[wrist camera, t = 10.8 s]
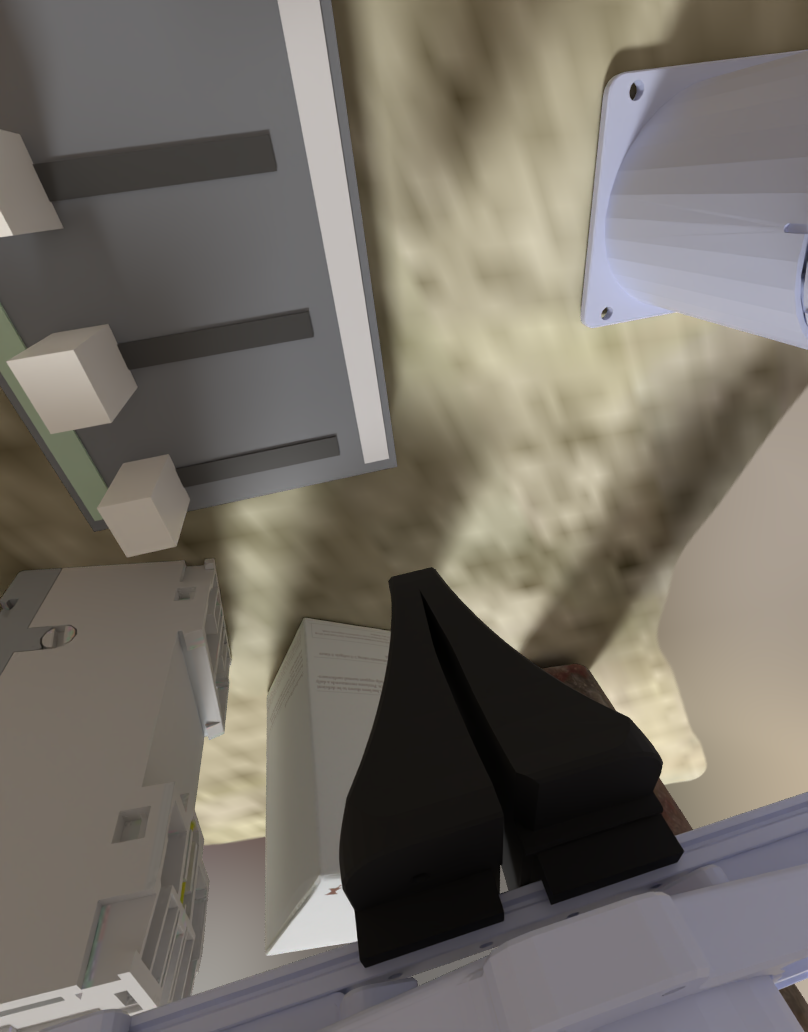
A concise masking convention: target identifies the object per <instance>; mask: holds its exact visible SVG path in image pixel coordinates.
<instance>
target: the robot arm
mask: <svg viewBox="0 0 808 1032" xmlns="http://www.w3.org/2000/svg"><path fill="white" fill-rule="evenodd" d="M633 83H635V85H636V88H637V92H636V95H635V98H634V99H633V100H631V98H630V94H629V91H630V88H631V85H632V84H633ZM606 307H607V313H606V315H605V316H604V317H603V318H601V313H602V311H603V310H604V309H605V308H606ZM675 312H678V313H681V314H685V315H688V316H692V317H695V318H699V319H702V320H706V321H709V322H712V323H716V324H719V325H723V326H726V327H730V328H733V329H737V330H740V331H744V332H747V333H751V334H754V335H758V336H761V337H765V338H768V339H772V340H775V341H779V342H782V343H786V344H789V345H793V346H796V347H800V348H803V349H807V350H808V50H800V51H791V52H783V53H775V54H767V55H759V56H750V57H742V58H734V59H726V60H718V61H710V62H701V63H693V64H685V65H677V66H669V67H660V68H652V69H644V70H636V71H628V72H623V73H620V74H618V75H615V76H613V77H612V78H611V79H610V80H609V81H608V83H607V85H606V87H605V90H604V94H603V102H602V112H601V121H600V131H599V141H598V151H597V161H596V170H595V180H594V190H593V200H592V209H591V219H590V229H589V239H588V248H587V258H586V268H585V278H584V288H583V297H582V307H581V322H582V323H583V324H584V325H585V326H587V327H590V328H595V327H601V326H606V325H611V324H616V323H622V322H627V321H632V320H638V319H643V318H648V317H653V316H659V315H664V314H669V313H675ZM388 582H389V588H390V593H391V601H392V619H391V636H390V645H389V653H388V661H387V667H386V672H385V678H384V683H383V687H382V692H381V696H380V700H379V704H378V708H377V712H376V716H375V719H374V723H373V726H372V729H371V732H370V736H369V739H368V742H367V745H366V748H365V751H364V754H363V757H362V760H361V762H360V765H359V768H358V770H357V773H356V775H355V778H354V780H353V783H352V785H351V788H350V790H349V793H348V795H347V798H346V803H345V809H344V814H343V820H342V826H341V833H340V843H339V865H340V874H341V883H342V889H343V891H344V893H345V895H346V897H347V898H348V900H349V902H350V904H351V905H352V907H353V909H354V912H355V922H356V931H357V940H358V941H356V942H353V943H350V944H347V945H344V946H341V947H338V948H335V949H332V950H328V951H326V952H323V953H319V954H316V955H314V956H310V957H307V958H305V959H302V960H298V961H295V962H292V963H289V964H287V965H283V966H280V967H278V968H274V969H272V970H268V971H265V972H262V973H259V974H256V975H253V976H250V977H247V978H244V979H241V980H238V981H235V982H232V983H229V984H226V985H223V986H220V987H217V988H214V989H211V990H208V991H205V992H202V993H199V994H196V995H193V996H190V997H187V998H184V999H181V1000H178V1001H174V1002H171V1003H168V1004H165V1005H162V1006H159V1007H156V1008H153V1009H150V1010H147V1011H144V1012H141V1013H138V1014H135V1015H132V1016H130V1015H129V1014H128V1013H127V1012H125V1011H123V1010H121V1009H105V1010H101V1011H97V1012H93V1013H90V1014H87V1015H84V1016H81V1017H78V1018H75V1019H72V1020H69V1021H65V1022H62V1023H59V1024H56V1025H53V1026H50V1027H47V1028H44V1029H41V1030H40V1031H39V1032H804V1030H803V1028H802V1027H801V1025H800V1024H799V1022H798V1020H797V1019H796V1017H795V1016H794V1014H793V1012H792V1011H791V1009H790V1008H789V1006H788V1005H787V1003H786V1001H785V1000H784V998H783V997H782V995H781V993H780V992H779V990H780V989H782V988H785V987H787V986H790V985H792V984H795V983H797V982H800V981H802V980H804V979H807V978H808V792H806V793H803V794H799V795H796V796H794V797H790V798H788V799H784V800H781V801H778V802H776V803H772V804H769V805H767V806H763V807H760V808H758V809H754V810H751V811H748V812H745V813H742V814H739V815H736V816H733V817H730V818H727V819H724V820H721V821H718V822H715V823H712V824H709V825H706V826H703V827H700V828H697V829H694V830H691V831H688V832H685V833H682V834H679V835H676V836H675V835H674V834H673V832H672V830H671V829H670V827H669V826H668V824H667V822H666V821H665V819H664V818H663V816H662V814H661V813H662V812H663V807H662V805H661V803H660V801H659V800H658V798H657V797H656V795H655V794H654V792H653V790H654V788H655V786H656V783H657V781H658V779H659V777H660V774H661V770H662V765H663V761H662V759H661V757H660V755H659V754H658V752H657V751H656V749H655V748H654V746H653V745H652V744H651V742H650V741H649V740H648V739H647V737H646V736H645V735H644V734H643V733H642V731H641V730H640V729H639V728H638V727H637V726H636V725H635V723H634V722H633V721H632V720H631V719H630V718H629V717H627V716H625V715H623V714H621V713H619V712H617V711H614V710H612V709H610V708H608V707H606V706H604V705H602V704H600V703H599V702H597V701H595V700H593V699H591V698H589V697H587V696H586V695H584V694H582V693H580V692H578V691H577V690H575V689H573V688H571V687H570V686H568V685H567V684H565V683H563V682H562V681H560V680H559V679H557V678H555V677H554V676H552V675H551V674H549V673H548V672H546V671H544V670H543V669H541V668H540V667H538V666H537V665H535V664H534V663H533V662H531V661H530V660H528V659H527V658H526V657H524V656H523V655H522V654H520V653H519V652H518V651H516V650H515V649H514V648H512V647H511V646H510V645H509V644H507V643H506V642H505V641H504V640H503V639H501V638H500V637H499V636H498V635H497V634H496V633H494V632H493V631H492V630H491V629H490V628H489V627H488V626H487V625H485V624H484V623H483V622H482V621H481V620H480V619H479V618H478V617H477V616H476V615H475V614H474V613H473V612H472V611H471V610H470V609H469V608H468V607H467V606H466V605H465V604H464V603H463V602H462V601H461V600H460V599H459V598H458V596H457V595H456V594H455V593H454V592H453V591H452V590H451V589H450V587H449V586H448V585H447V584H446V583H445V581H444V580H443V579H442V578H441V576H440V575H439V574H438V572H437V571H436V569H434V568H432V567H431V568H427V569H423V570H418V571H414V572H410V573H406V574H402V575H398V576H394V577H391V578H390V579H389V581H388ZM500 865H501V866H502V869H503V873H504V876H505V880H506V883H507V887H508V890H509V891H507V892H504V893H501V894H500ZM498 946H499V947H498ZM495 947H497V948H495ZM492 948H495V949H494V950H492V951H491V953H490V954H489V955H487V956H485V957H483V958H480V959H478V960H476V961H474V962H471V963H469V964H467V965H465V966H463V967H460V968H458V969H456V970H453V971H451V972H449V973H446V974H444V975H442V976H440V977H438V978H435V979H433V980H431V981H428V982H426V983H424V984H422V985H419V986H418V984H417V980H415V979H414V978H413V977H411V976H413V975H416V974H419V973H422V972H425V971H428V970H431V969H434V968H437V967H440V966H442V965H445V964H448V963H451V962H454V961H457V960H460V959H463V958H466V957H469V956H471V955H474V954H477V953H480V952H483V951H486V950H489V949H492ZM408 977H411V978H408Z"/></svg>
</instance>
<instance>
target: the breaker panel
mask: <svg viewBox="0 0 808 1032" xmlns="http://www.w3.org/2000/svg"><path fill="white" fill-rule="evenodd" d="M0 387H1V388H2V390H3V391H4V393H5V394H6V396H7V397H8V399H9V401H10V402H11V404H12V405H13V407H14V408H15V410H16V411H17V413H18V414H19V416H20V418H21V419H22V421H23V422H24V424H25V425H26V427H27V428H28V430H29V432H30V433H31V435H32V436H33V438H34V439H35V441H36V442H37V444H38V445H39V447H40V449H41V450H42V452H43V453H44V455H45V456H46V458H47V459H48V461H49V463H50V464H51V466H52V467H53V469H54V470H55V472H56V473H57V475H58V477H59V478H60V480H61V481H62V483H63V484H64V486H65V487H66V489H67V490H68V492H69V494H70V495H71V497H72V498H73V500H74V501H75V503H76V504H77V506H78V508H79V509H80V511H81V512H82V514H83V515H84V517H85V518H86V520H87V521H88V523H89V525H90V526H91V528H92V529H93V531H94V532H95V531H100V530H105V529H110V531H111V532H112V534H113V536H114V537H115V539H116V540H117V542H118V544H119V545H120V547H121V549H122V550H123V552H124V553H125V555H126V557H132V556H136V555H141V554H145V553H150V552H154V551H159V550H163V549H168V548H172V547H177V543H178V540H179V536H180V533H181V530H182V526H183V523H184V519H185V516H186V512H188V511H193V510H198V509H202V508H207V507H212V506H216V505H221V504H226V503H230V502H235V501H240V500H244V499H249V498H254V497H258V496H263V495H268V494H272V493H277V492H282V491H286V490H291V489H295V488H300V487H305V486H309V485H314V484H319V483H323V482H328V481H333V480H337V479H342V478H347V477H351V476H356V475H361V474H365V473H370V472H375V471H379V470H384V469H389V468H393V467H397V461H396V454H395V447H394V440H393V433H392V426H391V419H390V411H389V404H388V397H387V390H386V383H385V376H384V369H383V362H382V355H381V348H380V341H379V334H378V327H377V320H376V313H375V306H374V299H373V292H372V285H371V278H370V271H369V264H368V257H367V250H366V243H365V236H364V229H363V221H362V214H361V207H360V200H359V193H358V186H357V179H356V172H355V165H354V158H353V151H352V144H351V137H350V130H349V123H348V116H347V109H346V102H345V95H344V88H343V81H342V74H341V67H340V60H339V53H338V46H337V39H336V31H335V24H334V17H333V10H332V3H331V0H0Z"/></svg>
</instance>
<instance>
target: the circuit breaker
mask: <svg viewBox="0 0 808 1032" xmlns="http://www.w3.org/2000/svg"><path fill="white" fill-rule="evenodd" d="M0 603H1V605H2V607H3V609H2V610H1V612H0V1032H39V1031H40V1030H41V1029H44V1028H47V1027H50V1026H53V1025H56V1024H59V1023H62V1022H65V1021H69V1020H72V1019H75V1018H78V1017H81V1016H84V1015H87V1014H90V1013H93V1012H97V1011H101V1010H105V1009H121V1010H123V1011H125V1012H127V1013H128V1014H129V1015H130V1016H132V1015H135V1014H138V1013H141V1012H144V1011H147V1010H150V1009H153V1008H156V1007H159V1006H162V1005H165V1004H168V1003H171V1002H174V1001H178V1000H181V999H184V998H187V997H190V996H191V995H192V990H193V985H194V979H195V975H196V974H198V972H199V966H200V962H201V957H202V950H203V941H204V931H205V921H206V911H207V901H208V891H209V878H208V875H207V872H206V870H205V867H204V864H203V861H202V854H203V846H204V838H203V834H202V831H201V828H200V825H199V822H198V819H197V816H196V813H195V802H196V795H197V788H198V780H199V773H200V765H201V758H202V751H203V743H204V737H206V736H208V738H209V740H211V739H213V738H215V737H218V736H220V735H222V734H224V730H225V720H226V710H227V700H228V690H229V678H228V677H229V667H230V665H231V654H230V648H229V642H228V636H227V630H226V625H225V619H224V613H223V607H222V601H221V595H220V589H219V583H218V577H217V571H216V565H215V560H214V558H213V559H205V562H204V565H200V566H186V563H185V560H182V561H166V562H150V563H135V564H119V565H103V566H87V567H72V568H63V569H62V568H56V569H41V570H26V571H21V572H19V573H18V574H17V576H16V577H15V579H14V580H13V582H12V583H11V585H10V586H9V587H8V589H7V590H6V592H5V593H4V595H3V596H2V598H1V599H0Z"/></svg>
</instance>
